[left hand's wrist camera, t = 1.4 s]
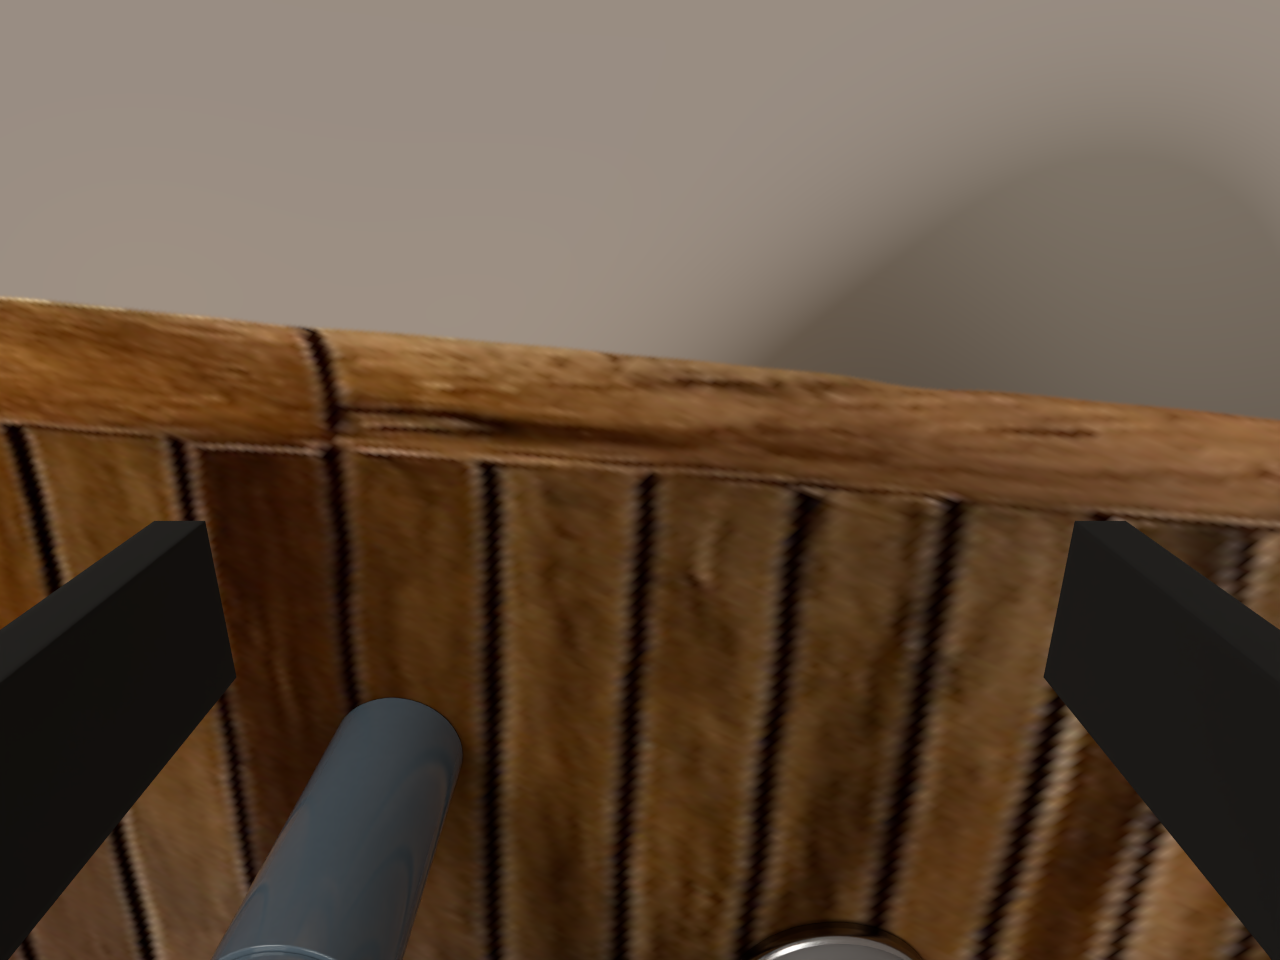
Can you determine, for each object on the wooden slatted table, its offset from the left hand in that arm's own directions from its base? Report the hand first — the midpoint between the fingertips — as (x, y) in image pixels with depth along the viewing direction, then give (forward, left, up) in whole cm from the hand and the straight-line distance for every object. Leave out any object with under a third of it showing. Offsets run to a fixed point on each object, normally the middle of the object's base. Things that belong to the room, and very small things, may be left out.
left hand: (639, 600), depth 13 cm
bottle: (-28, +15, -31) cm, 44 cm away
